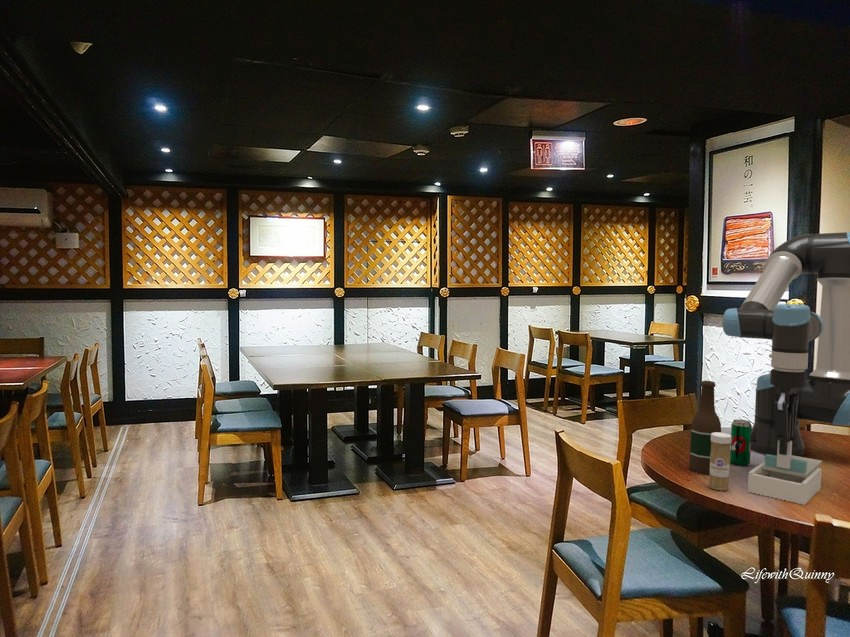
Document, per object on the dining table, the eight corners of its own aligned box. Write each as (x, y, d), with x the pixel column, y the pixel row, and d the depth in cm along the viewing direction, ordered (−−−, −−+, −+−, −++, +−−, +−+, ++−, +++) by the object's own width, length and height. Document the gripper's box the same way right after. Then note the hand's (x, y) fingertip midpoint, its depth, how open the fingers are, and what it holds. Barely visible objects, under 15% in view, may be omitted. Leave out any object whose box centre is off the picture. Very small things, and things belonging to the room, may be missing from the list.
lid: (779, 456, 167) (780, 443, 167) (821, 463, 160) (822, 450, 160) (762, 468, 155) (762, 455, 155) (806, 477, 149) (807, 463, 149)
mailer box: (767, 477, 163) (767, 458, 163) (820, 488, 155) (821, 469, 155) (747, 492, 152) (748, 472, 151) (804, 505, 144) (805, 483, 143)
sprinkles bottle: (711, 490, 153) (713, 435, 152) (706, 484, 157) (708, 431, 156) (731, 492, 152) (734, 436, 151) (725, 485, 156) (728, 432, 155)
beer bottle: (725, 471, 168) (729, 382, 167) (712, 477, 163) (716, 385, 161) (696, 464, 174) (700, 378, 172) (683, 470, 169) (686, 380, 167)
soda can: (753, 466, 173) (755, 423, 172) (734, 466, 173) (736, 422, 172) (745, 461, 178) (747, 419, 177) (726, 460, 178) (728, 418, 177)
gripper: (778, 365, 157) (773, 458, 159) (763, 370, 148) (758, 469, 149) (813, 368, 152) (808, 464, 154) (799, 374, 143) (794, 476, 144)
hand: (783, 467), depth 152 cm, fingers closed
